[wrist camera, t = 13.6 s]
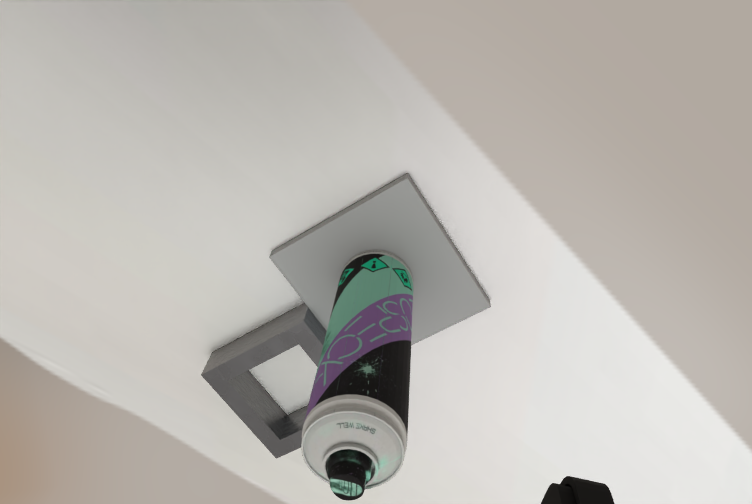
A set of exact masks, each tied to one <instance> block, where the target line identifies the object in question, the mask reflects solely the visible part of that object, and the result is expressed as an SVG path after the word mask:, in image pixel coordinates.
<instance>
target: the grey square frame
mask: <svg viewBox="0 0 752 504" xmlns="http://www.w3.org/2000/svg"><path fill="white" fill-rule="evenodd" d="M326 332H327V331H326V329H325V328H324V327H323V325H322V324H321V323H320V322H319V320H318V319H317V318H316V317H315V315H314V314H313V313H312V311H311V310H310V309H309V308H308V306H307V305H306V304H305V303H304V304H302V305H300V306H298V307H296V308H294V309H293V310H291V311H289V312H287V313H285V314H283V315H281V316H279V317H278V318H276V319H274V320H272V321H270V322H268V323H266V324H265V325H263V326H261V327H259V328H257V329H255V330H253V331H251V332H250V333H248V334H246V335H244V336H242V337H240V338H238V339H237V340H235V341H233V342H231V343H229V344H227V345H225V346H223V347H222V348H220V349H218V350H216V351H214V352H212V354H211V356H210V358H209V360H208V362H207V364H206V366H205V368H204V370H203V372H202V374H201V375H202V376H203V378H204V379H205V380H206V381H207V382H208V383H209V384H210V385H211V386H212V388H213V389H214V390H215V391H216V392H217V393H218V394H219V395H220V396H221V398H222V399H223V400H224V401H225V402H226V403H227V404H228V405H229V406H230V408H231V409H232V410H233V411H234V412H235V413H236V414H237V415H238V416H239V418H240V419H241V420H242V421H243V422H244V423H245V424H246V425H247V426H248V428H249V429H250V430H251V431H252V432H253V433H254V434H255V435H256V436H257V438H258V439H259V440H260V441H261V442H262V443H263V444H264V445H265V446H266V448H267V449H268V450H269V451H270V452H271V453H272V454H273V455H274V456H275V458H278V457H281V456H283V455H285V454H287V453H289V452H292V451H294V450H296V449H298V448H300V447H301V444H302V430H303V425H304V421H305V417H306V413H307V409H308V406H306V407H304V408H302V409H299V410H297V411H295V412H293V413H291V414H289V415H286V414H285V413H284V411H283V410H282V409H281V408H280V407H279V406H278V404H277V403H276V402H275V401H274V400H273V399H272V397H271V396H270V395H269V394H268V393H267V392H266V391H265V389H264V388H263V387H262V386H261V385H260V384H259V382H258V381H257V380H256V379H255V378H254V377H253V375H252V374H251V373H250V372H249V371H248V370H249V369H251V368H253V367H255V366H257V365H259V364H261V363H263V362H265V361H267V360H269V359H271V358H273V357H275V356H277V355H279V354H281V353H282V352H284V351H286V350H288V349H290V348H292V347H294V346H296V345H298V344H299V345H300V346H301V347H302V348H303V349H304V351H305V352H306V353H307V354H308V356H309V357H310V358H311V359H312V361H313V362H314V363H315V364H316V366H317V367H318V365H319V361H320V357H321V353H322V349H323V345H324V340H325V336H326Z"/></svg>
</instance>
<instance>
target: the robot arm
mask: <svg viewBox="0 0 752 504" xmlns="http://www.w3.org/2000/svg"><path fill="white" fill-rule="evenodd" d="M541 504H614V501H613V498H612V495H611V492H610V490H609V488H608V487H607V486H606V485H605V484H603V483H598V482H593V481H589V480H584V479H579V478H575V477H570V476H567V477H565V478H564V479H563V481H562V482H561V484H555V483H552V484H551V485H550V486H549V488H548V490H547V492H546V494H545V496H544V498H543V500H542V502H541Z"/></svg>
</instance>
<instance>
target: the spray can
mask: <svg viewBox="0 0 752 504" xmlns="http://www.w3.org/2000/svg"><path fill="white" fill-rule="evenodd" d="M412 309H413V277H412V273H411V271H410V269H409V267H408V265H407V264H406V263H405V262H404V261H403V260H402V259H401V258H400V257H398V256H397V255H395V254H393V253H390V252H388V251H383V250H368V251H364V252H361V253H358V254H357V255H355V256H354V257H352V258H351V259H350V260H349V261H348V262H347V263H346V265H345V266H344V268H343V271H342V273H341V276H340V280H339V284H338V288H337V292H336V296H335V300H334V304H333V308H332V312H331V316H330V320H329V324H328V328H327V332H326V336H325V340H324V345H323V349H322V353H321V357H320V361H319V365H318V369H317V373H316V377H315V381H314V385H313V389H312V393H311V397H310V401H309V405H308V409H307V413H306V417H305V421H304V425H303V430H302V444H301V450H302V456H303V458H304V461H305V463H306V464H307V466H308V467H309V469H310V470H311V471H312V472H313V473H314V474H315V475H316V476H318V477H319V478H320V479H322V480H323V481H325V482H327V483H329V484H330V487H331V489H332V491H333V493H334V494H335V495H336V496H337V497H339V498H341V499H343V500H355V499H358V498H359V497H361V496H362V495H363V493H364V490H365V489H369V488H373V487H376V486H379V485H381V484H384V483H386V482H387V481H389V480H390V479H391V478H393V477H394V476H395V475H396V474H397V472H398V471H399V470H400V468H401V466H402V464H403V460H404V454H405V451H406V447H407V431H408V407H409V382H410V358H411V334H412Z"/></svg>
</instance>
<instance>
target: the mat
mask: <svg viewBox="0 0 752 504" xmlns="http://www.w3.org/2000/svg"><path fill="white" fill-rule="evenodd" d="M368 250H383V251H388V252H390V253H393V254H395V255H397V256H398V257H400V258H401V259H402V260H403V261H404V262H405V263H406V264H407V265H408V267H409V269H410V271H411V273H412V277H413V309H412V334H411V345H413V344H415V343H417V342H419V341H421V340H423V339H425V338H427V337H429V336H432V335H434V334H436V333H438V332H440V331H442V330H444V329H446V328H448V327H450V326H452V325H454V324H456V323H458V322H461V321H463V320H465V319H467V318H469V317H471V316H473V315H475V314H477V313H479V312H481V311H483V310H485V309H487V308H490V307H491V305H490V300H489V298H488V297H487V295H486V294H485V292H484V291H483V289H482V287H481V286H480V284H479V283H478V281H477V280H476V278H475V277H474V275H473V274H472V272H471V270H470V269H469V267H468V266H467V264H466V263H465V261H464V260H463V258H462V256H461V255H460V253H459V252H458V250H457V249H456V247H455V246H454V244H453V243H452V241H451V239H450V238H449V236H448V235H447V233H446V232H445V230H444V229H443V227H442V225H441V224H440V222H439V221H438V219H437V218H436V216H435V215H434V213H433V212H432V210H431V208H430V207H429V205H428V204H427V202H426V201H425V199H424V198H423V196H422V194H421V193H420V191H419V190H418V188H417V187H416V185H415V184H414V182H413V181H412V179H411V177H410V176H409V174H408V173H407V174H405V175H403V176H402V177H400V178H398V179H396V180H395V181H393V182H391V183H389V184H388V185H386V186H384V187H383V188H381V189H379V190H377V191H376V192H374V193H372V194H370V195H369V196H367V197H365V198H363V199H362V200H360V201H358V202H356V203H355V204H353V205H351V206H350V207H348V208H346V209H344V210H343V211H341V212H339V213H337V214H336V215H334V216H332V217H330V218H329V219H327V220H325V221H323V222H322V223H320V224H318V225H316V226H315V227H313V228H311V229H310V230H308V231H306V232H304V233H303V234H301V235H299V236H297V237H296V238H294V239H292V240H290V241H289V242H287V243H285V244H283V245H282V246H280V247H278V248H276V249H275V250H273V251H272V252H271V254H270V256H269V258H270V259H271V260H272V261H273V263H274V264H275V265H276V266H277V268H278V269H279V270H280V272H281V273H282V274H283V275H284V277H285V278H286V279H287V281H288V282H289V283H290V284H291V286H292V287H293V288H294V290H295V291H296V292H297V293H298V295H299V296H300V297H301V299H302V300H303V301H304V302H305V304H306V305H307V306H308V308H309V309H310V310H311V311H312V313H313V314H314V315H315V317H316V318H317V319H318V320H319V322H320V323H321V324H322V325H323V327H324V328H325V329H326V331H327V328H328V324H329V320H330V316H331V312H332V308H333V304H334V300H335V296H336V292H337V288H338V284H339V280H340V276H341V273H342V271H343V268H344V266H345V265H346V263H347V262H348V261H349V260H350V259H351V258H352V257H354V256H355V255H357V254H358V253H361V252H364V251H368Z"/></svg>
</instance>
